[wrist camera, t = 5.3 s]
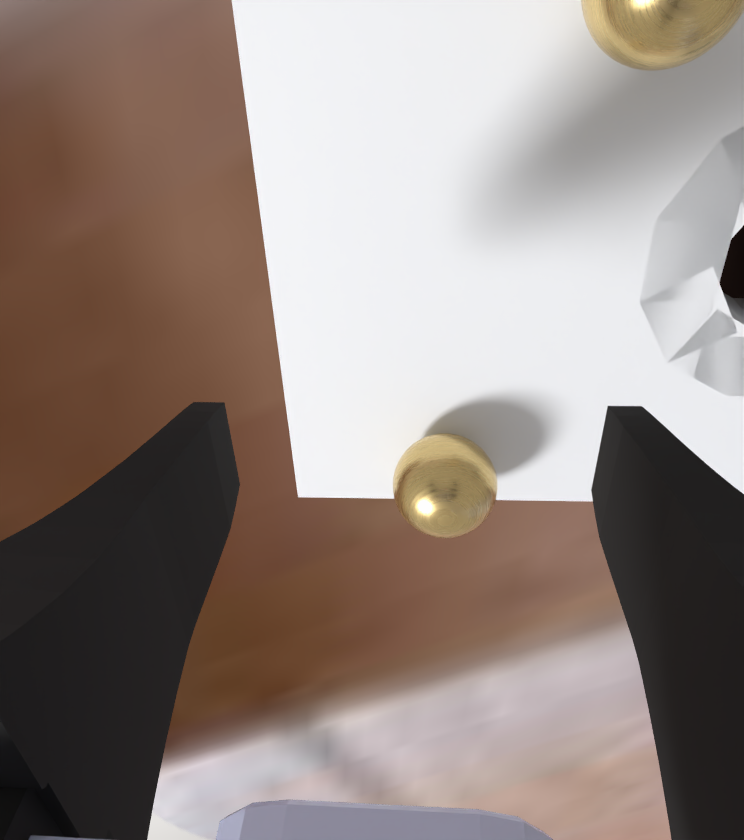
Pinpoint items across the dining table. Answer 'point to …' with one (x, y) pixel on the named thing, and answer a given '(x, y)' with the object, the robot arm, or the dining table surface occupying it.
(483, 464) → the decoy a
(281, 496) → the dining table surface
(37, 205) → the dining table surface
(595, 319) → the plate
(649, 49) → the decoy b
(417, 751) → the dining table surface
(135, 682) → the robot arm
